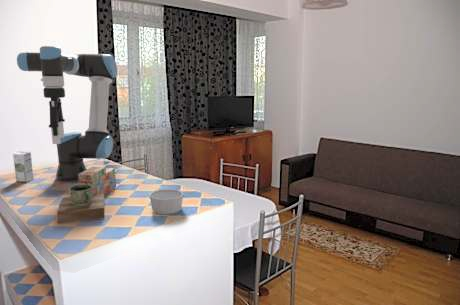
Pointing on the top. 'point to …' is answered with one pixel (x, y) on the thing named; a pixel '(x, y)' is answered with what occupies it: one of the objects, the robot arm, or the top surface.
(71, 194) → the vessel
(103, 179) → the stack of blocks
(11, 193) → the top surface
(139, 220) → the top surface
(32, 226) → the top surface
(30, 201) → the top surface
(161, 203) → the ramekin
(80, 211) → the walnut block
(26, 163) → the syrup box
